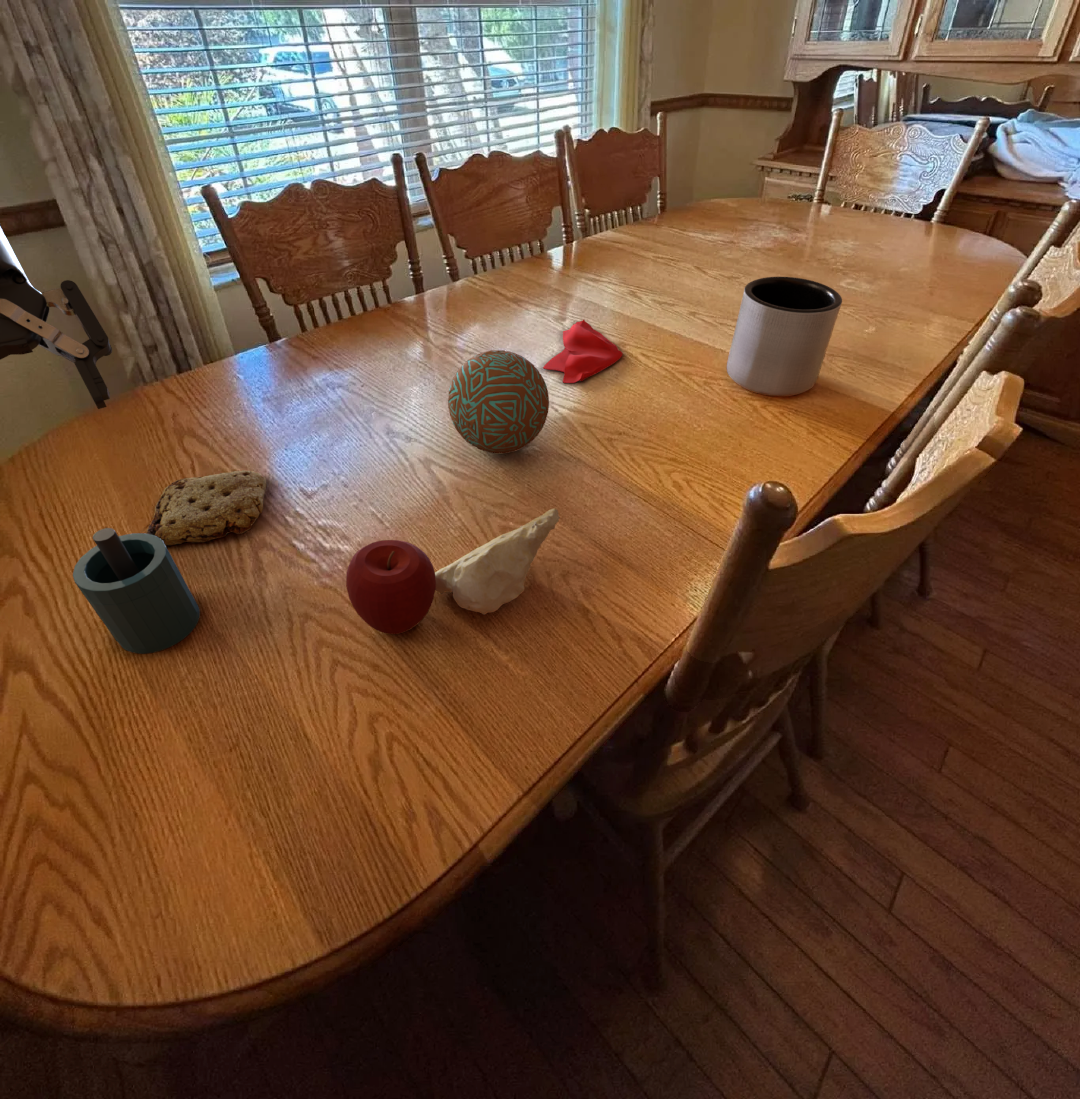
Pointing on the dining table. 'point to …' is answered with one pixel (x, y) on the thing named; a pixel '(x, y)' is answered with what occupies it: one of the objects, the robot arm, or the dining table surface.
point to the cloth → (583, 353)
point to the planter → (782, 335)
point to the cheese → (496, 567)
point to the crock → (139, 596)
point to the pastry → (208, 507)
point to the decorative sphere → (498, 401)
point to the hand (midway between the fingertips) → (45, 420)
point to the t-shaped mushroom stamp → (115, 553)
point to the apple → (391, 585)
